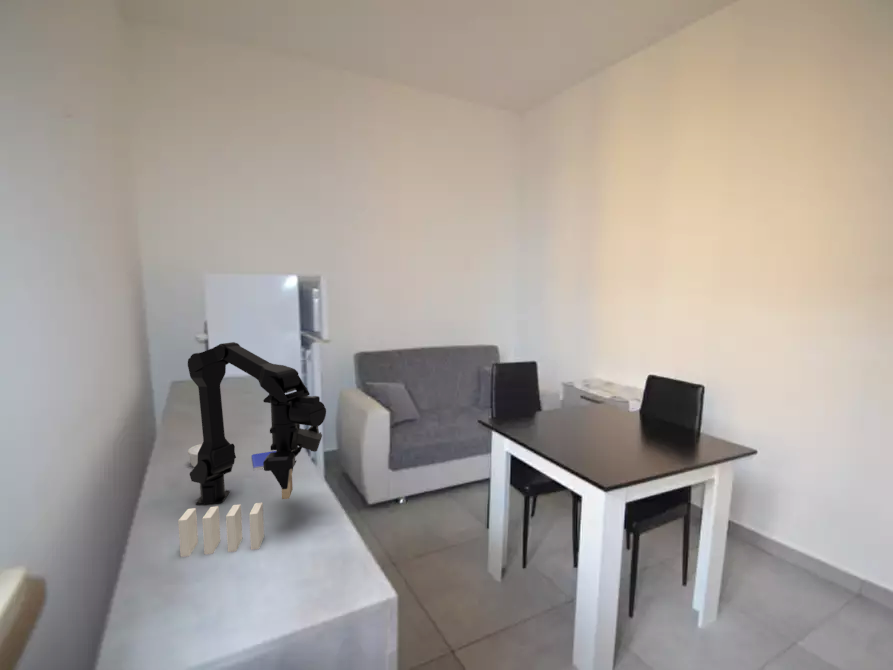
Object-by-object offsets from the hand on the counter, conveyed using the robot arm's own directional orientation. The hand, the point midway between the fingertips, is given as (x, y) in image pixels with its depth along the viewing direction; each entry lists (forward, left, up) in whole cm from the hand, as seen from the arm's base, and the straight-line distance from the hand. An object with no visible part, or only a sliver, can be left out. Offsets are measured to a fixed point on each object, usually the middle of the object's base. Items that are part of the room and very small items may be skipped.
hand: (286, 484), depth 105 cm
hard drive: (-39, -13, -9) cm, 42 cm away
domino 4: (+10, -5, -9) cm, 14 cm away
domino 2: (+10, -14, -9) cm, 19 cm away
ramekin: (-41, -32, -9) cm, 53 cm away
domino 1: (+10, -19, -9) cm, 23 cm away
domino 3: (+10, -9, -9) cm, 16 cm away
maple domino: (0, 0, -3) cm, 3 cm away
